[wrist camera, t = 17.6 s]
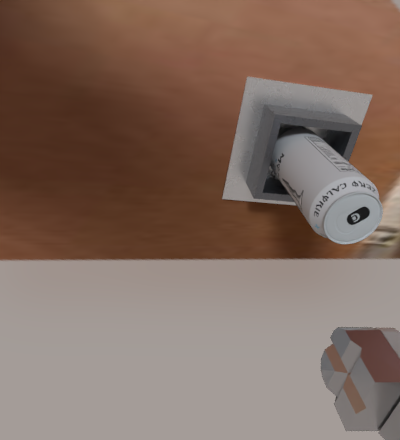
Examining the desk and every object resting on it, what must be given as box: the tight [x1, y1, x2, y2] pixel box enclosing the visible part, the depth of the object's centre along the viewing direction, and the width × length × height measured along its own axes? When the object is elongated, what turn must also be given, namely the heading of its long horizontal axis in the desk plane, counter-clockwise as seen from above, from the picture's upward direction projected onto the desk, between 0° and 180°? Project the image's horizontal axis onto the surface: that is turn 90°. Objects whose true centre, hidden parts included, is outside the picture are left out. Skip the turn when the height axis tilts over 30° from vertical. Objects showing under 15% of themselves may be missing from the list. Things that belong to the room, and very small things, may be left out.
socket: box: [222, 76, 372, 205], centre depth 41 cm, size 14×14×5 cm
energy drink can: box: [270, 128, 383, 244], centre depth 36 cm, size 6×6×15 cm
